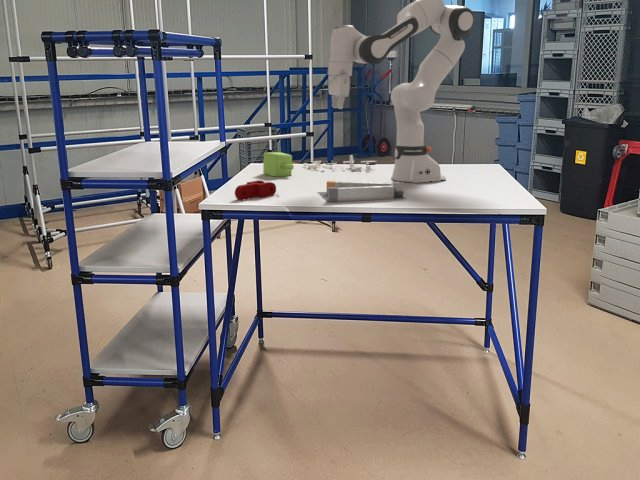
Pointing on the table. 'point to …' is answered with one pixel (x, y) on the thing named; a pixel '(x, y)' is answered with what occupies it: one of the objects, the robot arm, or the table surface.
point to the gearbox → (277, 164)
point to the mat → (325, 194)
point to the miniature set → (317, 163)
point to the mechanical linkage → (255, 190)
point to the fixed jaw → (366, 193)
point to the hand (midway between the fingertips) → (337, 108)
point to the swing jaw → (354, 184)
